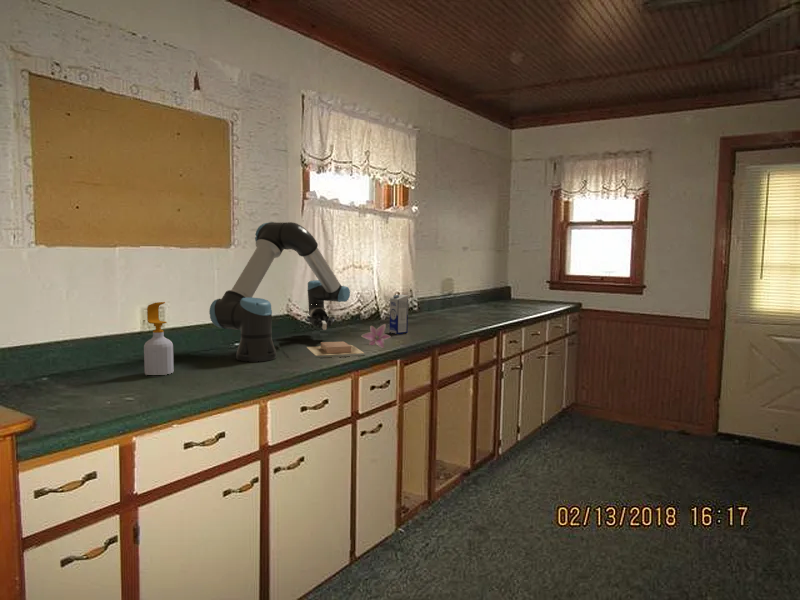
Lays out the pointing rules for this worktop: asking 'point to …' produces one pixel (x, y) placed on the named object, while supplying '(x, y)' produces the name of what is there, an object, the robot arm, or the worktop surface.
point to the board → (319, 352)
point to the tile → (335, 347)
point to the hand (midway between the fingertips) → (324, 326)
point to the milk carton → (399, 314)
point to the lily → (376, 335)
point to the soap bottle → (157, 346)
